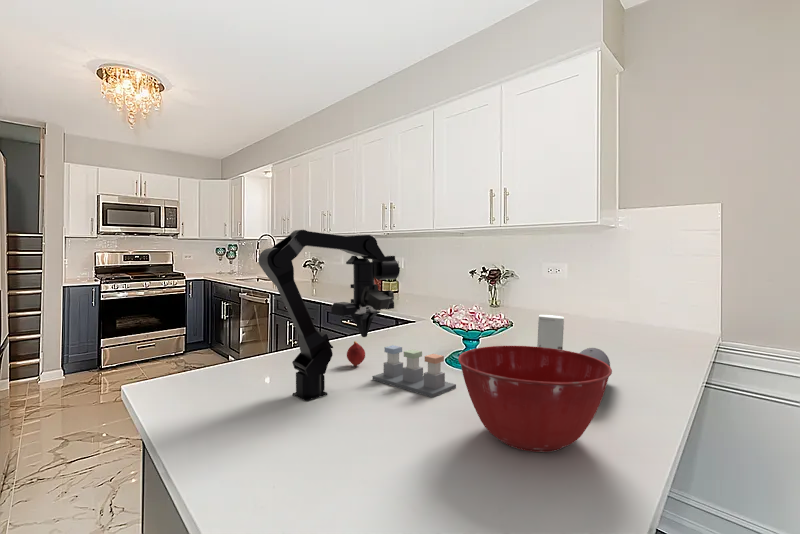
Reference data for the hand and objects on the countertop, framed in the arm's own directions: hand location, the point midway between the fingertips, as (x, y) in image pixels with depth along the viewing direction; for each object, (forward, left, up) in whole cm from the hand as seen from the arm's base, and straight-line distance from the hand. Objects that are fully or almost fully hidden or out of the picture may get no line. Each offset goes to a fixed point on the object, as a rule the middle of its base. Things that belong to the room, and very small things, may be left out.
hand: (364, 337), depth 117 cm
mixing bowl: (0, -49, -13) cm, 51 cm away
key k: (+9, -17, -9) cm, 22 cm away
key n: (+9, -10, -9) cm, 16 cm away
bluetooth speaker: (+35, -48, -13) cm, 61 cm away
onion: (+10, +15, -13) cm, 22 cm away
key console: (+9, -10, -13) cm, 19 cm away
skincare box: (+60, -27, -13) cm, 67 cm away
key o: (+9, -2, -9) cm, 13 cm away
